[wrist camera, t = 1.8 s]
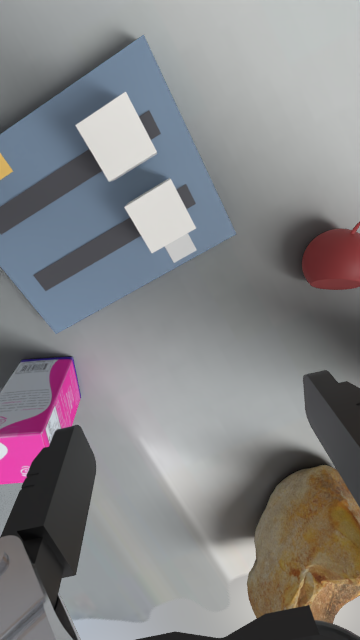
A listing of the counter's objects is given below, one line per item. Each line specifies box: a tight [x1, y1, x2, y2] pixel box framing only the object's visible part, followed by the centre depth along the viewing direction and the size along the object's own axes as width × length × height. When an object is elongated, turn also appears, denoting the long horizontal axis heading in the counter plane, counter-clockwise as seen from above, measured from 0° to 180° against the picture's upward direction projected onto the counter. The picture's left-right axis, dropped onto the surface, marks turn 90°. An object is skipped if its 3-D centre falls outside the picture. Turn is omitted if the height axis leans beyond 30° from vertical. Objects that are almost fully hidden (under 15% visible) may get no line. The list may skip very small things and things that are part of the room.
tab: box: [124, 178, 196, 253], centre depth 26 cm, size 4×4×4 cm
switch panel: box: [0, 35, 236, 334], centre depth 29 cm, size 20×16×2 cm
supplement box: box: [0, 357, 81, 484], centre depth 32 cm, size 6×6×12 cm
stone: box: [247, 465, 360, 624], centre depth 44 cm, size 23×17×15 cm
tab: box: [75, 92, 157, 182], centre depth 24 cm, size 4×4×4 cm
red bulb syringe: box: [302, 222, 360, 290], centre depth 30 cm, size 6×6×8 cm
